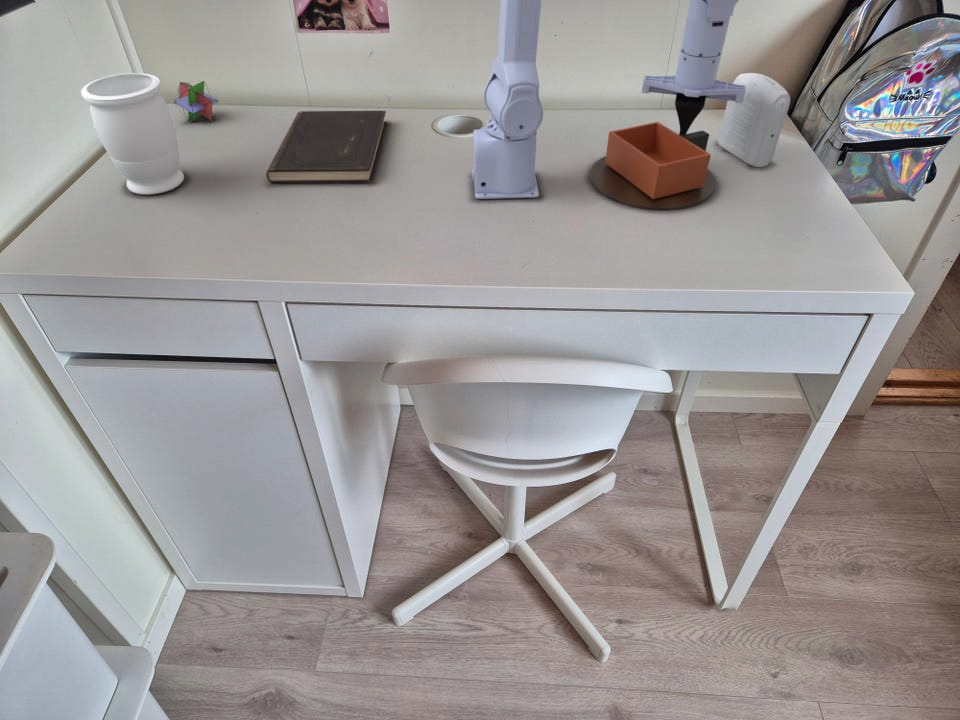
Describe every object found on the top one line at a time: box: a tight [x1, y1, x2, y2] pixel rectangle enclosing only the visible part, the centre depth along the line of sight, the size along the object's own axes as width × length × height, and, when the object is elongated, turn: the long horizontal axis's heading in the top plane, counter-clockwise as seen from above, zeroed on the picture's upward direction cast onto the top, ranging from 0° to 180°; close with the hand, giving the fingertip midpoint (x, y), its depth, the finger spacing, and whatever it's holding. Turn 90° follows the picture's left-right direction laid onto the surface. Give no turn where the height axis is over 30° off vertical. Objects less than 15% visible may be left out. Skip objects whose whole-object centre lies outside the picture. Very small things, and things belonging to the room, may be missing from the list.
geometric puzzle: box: [172, 80, 219, 123], centre depth 118 cm, size 7×7×8 cm
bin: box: [605, 121, 712, 199], centre depth 100 cm, size 13×13×5 cm
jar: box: [80, 72, 185, 196], centre depth 97 cm, size 11×10×15 cm
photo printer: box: [717, 72, 791, 168], centre depth 103 cm, size 10×4×12 cm, turn 23°
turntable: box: [589, 155, 717, 212], centre depth 101 cm, size 19×19×1 cm
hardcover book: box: [265, 110, 388, 185], centre depth 109 cm, size 16×23×2 cm
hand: (681, 143), depth 102 cm, fingers closed, pressing on bin
